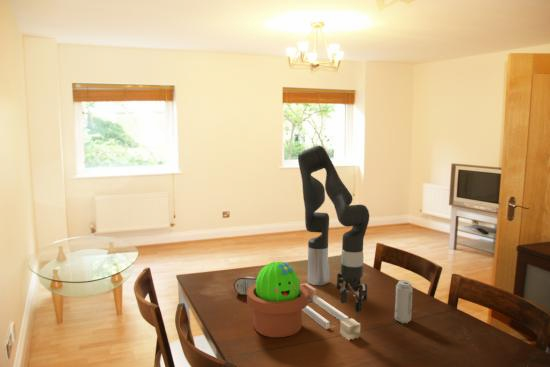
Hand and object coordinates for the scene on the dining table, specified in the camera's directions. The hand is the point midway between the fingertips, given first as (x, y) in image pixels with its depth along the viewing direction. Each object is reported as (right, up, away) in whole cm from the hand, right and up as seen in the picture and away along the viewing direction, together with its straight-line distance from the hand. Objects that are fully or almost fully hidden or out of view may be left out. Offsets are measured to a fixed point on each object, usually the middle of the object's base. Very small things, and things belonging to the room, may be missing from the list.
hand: (350, 307), depth 150 cm
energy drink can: (+22, -9, +14) cm, 27 cm away
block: (0, -11, +2) cm, 11 cm away
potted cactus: (-25, -10, +8) cm, 29 cm away
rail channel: (-10, -8, +22) cm, 25 cm away
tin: (-37, -6, +38) cm, 53 cm away
